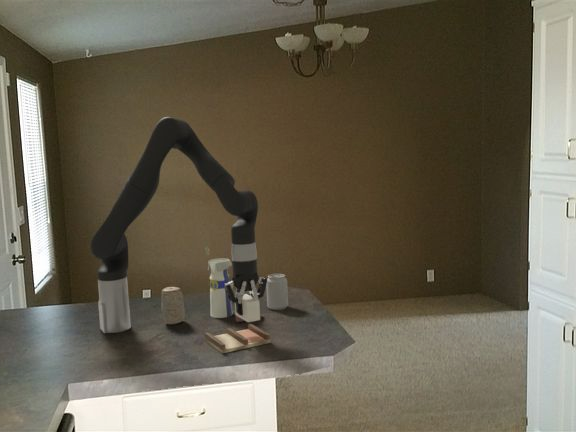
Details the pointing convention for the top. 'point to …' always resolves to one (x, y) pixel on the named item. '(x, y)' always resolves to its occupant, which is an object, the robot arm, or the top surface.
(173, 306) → the carving
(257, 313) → the plug block
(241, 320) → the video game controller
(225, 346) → the slot rack
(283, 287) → the can
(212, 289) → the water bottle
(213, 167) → the robot arm
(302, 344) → the top surface
